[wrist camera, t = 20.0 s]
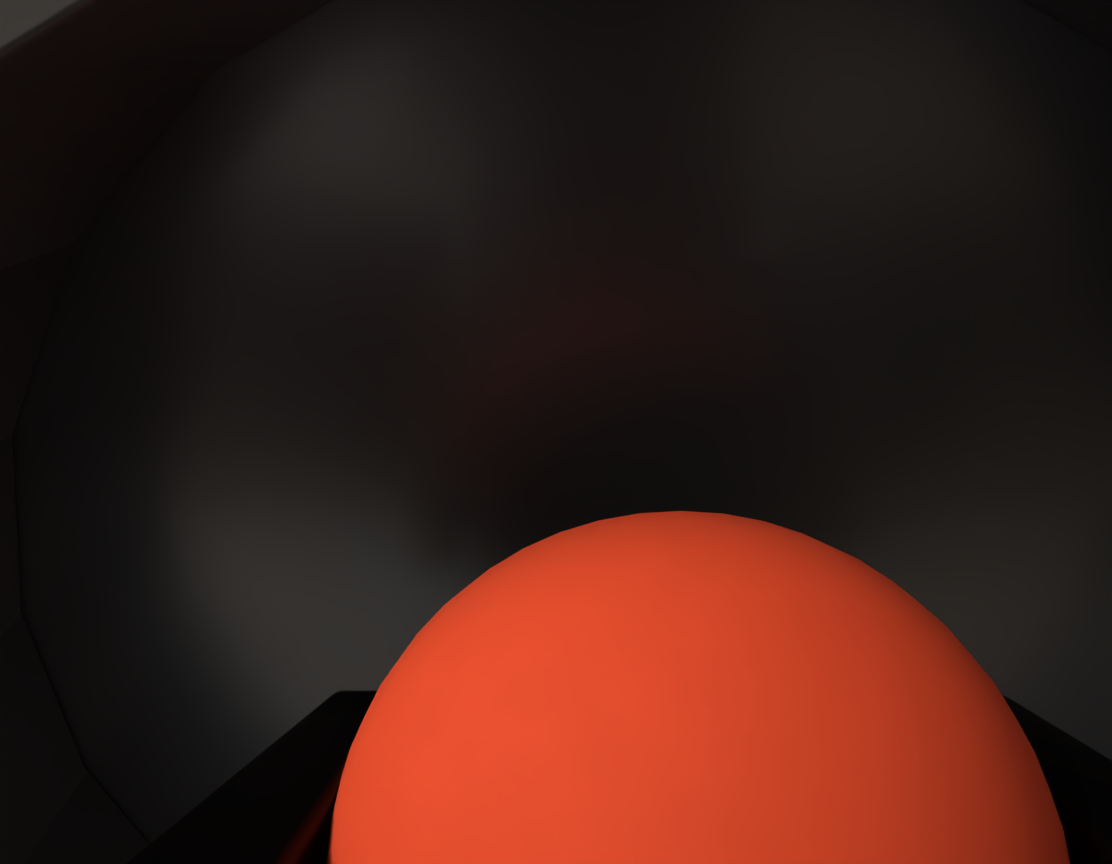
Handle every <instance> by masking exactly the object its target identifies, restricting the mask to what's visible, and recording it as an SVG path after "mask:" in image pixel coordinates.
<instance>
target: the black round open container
mask: <svg viewBox="0 0 1112 864" xmlns="http://www.w3.org/2000/svg"><path fill="white" fill-rule="evenodd" d="M670 511H692V512H708V513H723V514H729V515H734V516H740V517H745V518H750V519H756V520H761V521H765V522H769V523H772V524H775V525H778V526H781V527H784V528H788V529H791V530H794V531H797V532H800V533H803V534H805V535H807V536H810V537H812V538H814V539H816V540H819V541H821V542H823V543H825V544H827V545H829V546H832V547H834V548H836V549H838V550H840V551H842V552H844V553H847V554H849V555H851V556H853V557H855V558H857V559H859V560H861V561H862V562H864V563H865V564H867V565H868V566H870V567H872V568H873V569H875V570H876V571H878V572H879V573H881V574H883V575H884V576H886V577H887V578H889V579H890V580H892V581H893V582H895V583H896V584H897V585H898V586H900V587H901V588H902V589H903V590H905V591H906V592H907V593H908V594H910V595H911V596H912V597H913V598H914V599H916V600H917V601H918V602H919V603H920V604H921V605H923V606H924V607H925V608H926V609H927V610H928V611H930V612H931V613H932V614H933V615H934V616H935V617H937V618H938V619H939V620H940V621H941V622H942V623H944V624H945V625H946V626H947V627H948V628H949V630H950V631H951V632H952V633H953V634H954V635H955V637H956V638H957V639H958V640H959V641H960V642H961V644H962V645H963V646H964V647H965V648H966V649H967V651H968V652H969V653H970V654H971V655H972V656H973V658H974V659H975V660H976V661H977V662H978V664H979V665H980V666H981V667H982V668H983V670H984V671H985V672H986V673H987V675H988V676H989V677H990V678H991V679H992V681H993V682H994V683H995V685H996V686H997V688H998V689H999V691H1000V693H1001V694H1002V695H1004V696H1006V697H1008V698H1010V699H1012V700H1013V701H1015V702H1017V703H1018V704H1020V705H1022V706H1023V707H1025V708H1026V709H1028V710H1030V711H1031V712H1033V713H1035V714H1036V715H1038V716H1040V717H1041V718H1043V719H1045V720H1046V721H1048V722H1049V723H1051V724H1053V725H1054V726H1056V727H1058V728H1059V729H1061V730H1063V731H1064V732H1066V733H1068V734H1069V735H1071V736H1072V737H1074V738H1076V739H1077V740H1079V741H1081V742H1082V743H1084V744H1086V745H1087V746H1089V747H1091V748H1092V749H1094V750H1096V751H1097V752H1099V753H1100V754H1102V755H1104V756H1105V757H1107V758H1109V759H1110V760H1112V0H0V864H126V863H127V862H129V861H130V860H131V859H132V858H133V857H135V856H136V855H137V854H138V853H140V852H141V851H142V850H143V849H144V848H146V847H147V846H148V845H149V844H150V843H152V842H153V841H154V840H155V839H157V838H158V837H159V836H160V835H161V834H163V833H164V832H165V831H166V830H168V829H169V828H170V827H171V826H172V825H174V824H175V823H176V822H177V821H179V820H180V819H181V818H182V817H183V816H185V815H186V814H187V813H188V812H190V811H191V810H192V809H193V808H194V807H196V806H197V805H198V804H199V803H201V802H202V801H203V800H204V799H205V798H207V797H208V796H209V795H210V794H212V793H213V792H214V791H215V790H216V789H218V788H219V787H220V786H221V785H223V784H224V783H225V782H226V781H227V780H229V779H230V778H231V777H232V776H233V775H235V774H236V773H237V772H238V771H240V770H241V769H242V768H243V767H244V766H246V765H247V764H248V763H249V762H251V761H252V760H253V759H254V758H255V757H257V756H258V755H259V754H260V753H262V752H263V751H264V750H265V749H266V748H268V747H269V746H270V745H271V744H273V743H274V742H275V741H276V740H277V739H279V738H280V737H281V736H282V735H284V734H285V733H286V732H287V731H288V730H290V729H291V728H292V727H293V726H295V725H296V724H297V723H298V722H299V721H301V720H302V719H303V718H304V717H305V716H307V715H308V714H309V713H310V712H312V711H313V710H314V709H315V708H316V707H318V706H319V705H320V704H321V703H323V702H324V701H325V700H326V699H327V698H329V697H330V696H331V695H333V694H334V693H336V692H338V691H342V690H356V691H378V689H379V687H380V685H381V683H382V682H383V681H384V679H385V678H386V676H387V675H388V674H389V672H390V671H391V669H392V668H393V667H394V665H395V664H396V662H397V661H398V660H399V658H400V657H401V655H402V654H403V652H404V651H405V650H406V648H407V647H408V646H409V644H410V643H411V641H412V640H413V639H414V637H415V636H416V634H417V633H418V632H419V631H420V630H421V629H422V628H423V627H424V626H425V625H426V624H427V623H428V621H429V620H430V619H431V618H432V617H433V616H434V615H435V614H436V613H437V612H438V611H439V610H440V609H441V608H442V607H443V606H444V605H445V604H446V603H447V602H448V601H450V600H451V599H452V598H453V597H454V596H456V595H457V594H458V593H459V592H461V591H462V590H463V589H464V588H466V587H467V586H468V585H469V584H471V583H472V582H473V581H474V580H476V579H477V578H478V577H480V576H481V575H482V574H483V573H485V572H486V571H487V570H488V569H490V568H491V567H493V566H495V565H496V564H498V563H500V562H501V561H503V560H505V559H506V558H508V557H509V556H511V555H513V554H514V553H516V552H518V551H519V550H521V549H523V548H525V547H527V546H530V545H532V544H534V543H536V542H539V541H541V540H543V539H545V538H548V537H550V536H552V535H554V534H557V533H559V532H562V531H565V530H569V529H572V528H575V527H579V526H582V525H585V524H589V523H592V522H595V521H598V520H604V519H610V518H615V517H621V516H627V515H632V514H638V513H652V512H670Z"/></svg>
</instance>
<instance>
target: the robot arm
mask: <svg viewBox="0 0 1112 864" xmlns="http://www.w3.org/2000/svg"><path fill="white" fill-rule="evenodd" d="M376 693H377V691H356V690H342V691H338V692H336V693H334V694H333V695H331V696H330V697H329V698H327V699H326V700H325V701H324V702H323V703H321V704H320V705H319V706H318V707H316V708H315V709H314V710H313V711H312V712H310V713H309V714H308V715H307V716H305V717H304V718H303V719H302V720H301V721H299V722H298V723H297V724H296V725H295V726H293V727H292V728H291V729H290V730H288V731H287V732H286V733H285V734H284V735H282V736H281V737H280V738H279V739H277V740H276V741H275V742H274V743H273V744H271V745H270V746H269V747H268V748H266V749H265V750H264V751H263V752H262V753H260V754H259V755H258V756H257V757H255V758H254V759H253V760H252V761H251V762H249V763H248V764H247V765H246V766H244V767H243V768H242V769H241V770H240V771H238V772H237V773H236V774H235V775H233V776H232V777H231V778H230V779H229V780H227V781H226V782H225V783H224V784H223V785H221V786H220V787H219V788H218V789H216V790H215V791H214V792H213V793H212V794H210V795H209V796H208V797H207V798H205V799H204V800H203V801H202V802H201V803H199V804H198V805H197V806H196V807H194V808H193V809H192V810H191V811H190V812H188V813H187V814H186V815H185V816H183V817H182V818H181V819H180V820H179V821H177V822H176V823H175V824H174V825H172V826H171V827H170V828H169V829H168V830H166V831H165V832H164V833H163V834H161V835H160V836H159V837H158V838H157V839H155V840H154V841H153V842H152V843H150V844H149V845H148V846H147V847H146V848H144V849H143V850H142V851H141V852H140V853H138V854H137V855H136V856H135V857H133V858H132V859H131V860H130V861H129V862H127V863H126V864H326V858H327V849H328V840H329V831H330V821H331V816H332V813H333V809H334V805H335V801H336V797H337V793H338V789H339V785H340V781H341V776H342V773H343V770H344V767H345V763H346V760H347V757H348V754H349V751H350V748H351V746H352V743H353V741H354V739H355V737H356V734H357V732H358V730H359V727H360V725H361V723H362V721H363V719H364V717H365V715H366V713H367V711H368V709H369V707H370V705H371V703H372V701H373V699H374V697H375V695H376ZM1002 696H1003V698H1004V699H1005V701H1006V703H1007V704H1008V706H1009V707H1010V709H1011V711H1012V712H1013V714H1014V716H1015V717H1016V719H1017V721H1018V723H1019V724H1020V726H1021V728H1022V730H1023V732H1024V733H1025V735H1026V737H1027V739H1028V741H1029V742H1030V744H1031V746H1032V748H1033V750H1034V752H1035V754H1036V756H1037V759H1038V761H1039V764H1040V766H1041V769H1042V771H1043V774H1044V776H1045V779H1046V781H1047V784H1048V786H1049V789H1050V792H1051V795H1052V798H1053V801H1054V804H1055V807H1056V809H1057V812H1058V815H1059V818H1060V821H1061V824H1062V827H1063V831H1064V836H1065V841H1066V846H1067V850H1068V855H1069V860H1070V864H1112V760H1110V759H1109V758H1107V757H1105V756H1104V755H1102V754H1100V753H1099V752H1097V751H1096V750H1094V749H1092V748H1091V747H1089V746H1087V745H1086V744H1084V743H1082V742H1081V741H1079V740H1077V739H1076V738H1074V737H1072V736H1071V735H1069V734H1068V733H1066V732H1064V731H1063V730H1061V729H1059V728H1058V727H1056V726H1054V725H1053V724H1051V723H1049V722H1048V721H1046V720H1045V719H1043V718H1041V717H1040V716H1038V715H1036V714H1035V713H1033V712H1031V711H1030V710H1028V709H1026V708H1025V707H1023V706H1022V705H1020V704H1018V703H1017V702H1015V701H1013V700H1012V699H1010V698H1008V697H1006V696H1004V695H1002Z"/></svg>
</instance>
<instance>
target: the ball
mask: <svg viewBox="0 0 1112 864" xmlns="http://www.w3.org/2000/svg"><path fill="white" fill-rule="evenodd" d="M326 864H1070V860H1069V855H1068V850H1067V846H1066V841H1065V836H1064V831H1063V827H1062V824H1061V821H1060V818H1059V815H1058V812H1057V809H1056V807H1055V804H1054V801H1053V798H1052V795H1051V792H1050V789H1049V786H1048V784H1047V781H1046V779H1045V776H1044V774H1043V771H1042V769H1041V766H1040V764H1039V761H1038V759H1037V756H1036V754H1035V752H1034V750H1033V748H1032V746H1031V744H1030V742H1029V741H1028V739H1027V737H1026V735H1025V733H1024V732H1023V730H1022V728H1021V726H1020V724H1019V723H1018V721H1017V719H1016V717H1015V716H1014V714H1013V712H1012V711H1011V709H1010V707H1009V706H1008V704H1007V703H1006V701H1005V699H1004V698H1003V696H1002V694H1001V693H1000V691H999V689H998V688H997V686H996V685H995V683H994V682H993V681H992V679H991V678H990V677H989V676H988V675H987V673H986V672H985V671H984V670H983V668H982V667H981V666H980V665H979V664H978V662H977V661H976V660H975V659H974V658H973V656H972V655H971V654H970V653H969V652H968V651H967V649H966V648H965V647H964V646H963V645H962V644H961V642H960V641H959V640H958V639H957V638H956V637H955V635H954V634H953V633H952V632H951V631H950V630H949V628H948V627H947V626H946V625H945V624H944V623H942V622H941V621H940V620H939V619H938V618H937V617H935V616H934V615H933V614H932V613H931V612H930V611H928V610H927V609H926V608H925V607H924V606H923V605H921V604H920V603H919V602H918V601H917V600H916V599H914V598H913V597H912V596H911V595H910V594H908V593H907V592H906V591H905V590H903V589H902V588H901V587H900V586H898V585H897V584H896V583H895V582H893V581H892V580H890V579H889V578H887V577H886V576H884V575H883V574H881V573H879V572H878V571H876V570H875V569H873V568H872V567H870V566H868V565H867V564H865V563H864V562H862V561H861V560H859V559H857V558H855V557H853V556H851V555H849V554H847V553H844V552H842V551H840V550H838V549H836V548H834V547H832V546H829V545H827V544H825V543H823V542H821V541H819V540H816V539H814V538H812V537H810V536H807V535H805V534H803V533H800V532H797V531H794V530H791V529H788V528H784V527H781V526H778V525H775V524H772V523H769V522H765V521H761V520H756V519H750V518H745V517H740V516H734V515H729V514H723V513H708V512H692V511H670V512H652V513H638V514H632V515H627V516H621V517H615V518H610V519H604V520H598V521H595V522H592V523H589V524H585V525H582V526H579V527H575V528H572V529H569V530H565V531H562V532H559V533H557V534H554V535H552V536H550V537H548V538H545V539H543V540H541V541H539V542H536V543H534V544H532V545H530V546H527V547H525V548H523V549H521V550H519V551H518V552H516V553H514V554H513V555H511V556H509V557H508V558H506V559H505V560H503V561H501V562H500V563H498V564H496V565H495V566H493V567H491V568H490V569H488V570H487V571H486V572H485V573H483V574H482V575H481V576H480V577H478V578H477V579H476V580H474V581H473V582H472V583H471V584H469V585H468V586H467V587H466V588H464V589H463V590H462V591H461V592H459V593H458V594H457V595H456V596H454V597H453V598H452V599H451V600H450V601H448V602H447V603H446V604H445V605H444V606H443V607H442V608H441V609H440V610H439V611H438V612H437V613H436V614H435V615H434V616H433V617H432V618H431V619H430V620H429V621H428V623H427V624H426V625H425V626H424V627H423V628H422V629H421V630H420V631H419V632H418V633H417V634H416V636H415V637H414V639H413V640H412V641H411V643H410V644H409V646H408V647H407V648H406V650H405V651H404V652H403V654H402V655H401V657H400V658H399V660H398V661H397V662H396V664H395V665H394V667H393V668H392V669H391V671H390V672H389V674H388V675H387V676H386V678H385V679H384V681H383V682H382V683H381V685H380V687H379V689H378V691H377V693H376V695H375V697H374V699H373V701H372V703H371V705H370V707H369V709H368V711H367V713H366V715H365V717H364V719H363V721H362V723H361V725H360V727H359V730H358V732H357V734H356V737H355V739H354V741H353V743H352V746H351V748H350V751H349V754H348V757H347V760H346V763H345V767H344V770H343V773H342V776H341V781H340V785H339V789H338V793H337V797H336V801H335V805H334V809H333V813H332V816H331V821H330V831H329V840H328V849H327V858H326Z"/></svg>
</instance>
